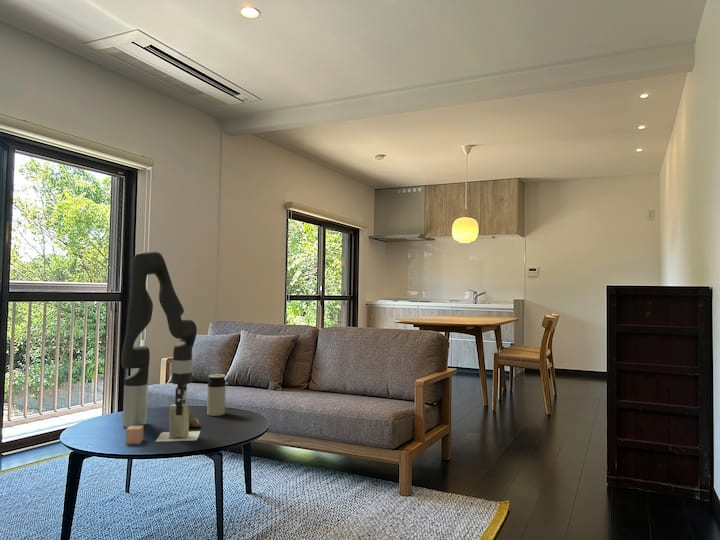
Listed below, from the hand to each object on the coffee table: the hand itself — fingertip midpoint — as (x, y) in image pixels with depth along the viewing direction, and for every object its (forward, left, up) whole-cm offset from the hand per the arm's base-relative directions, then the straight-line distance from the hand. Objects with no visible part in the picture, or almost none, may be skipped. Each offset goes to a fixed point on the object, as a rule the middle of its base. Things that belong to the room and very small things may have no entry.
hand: (180, 412), depth 208 cm
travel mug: (-37, +11, -10) cm, 40 cm away
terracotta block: (+7, -15, -10) cm, 19 cm away
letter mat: (+1, 0, -10) cm, 10 cm away
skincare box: (+1, 0, -9) cm, 9 cm away
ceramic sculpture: (-15, 0, -10) cm, 18 cm away
